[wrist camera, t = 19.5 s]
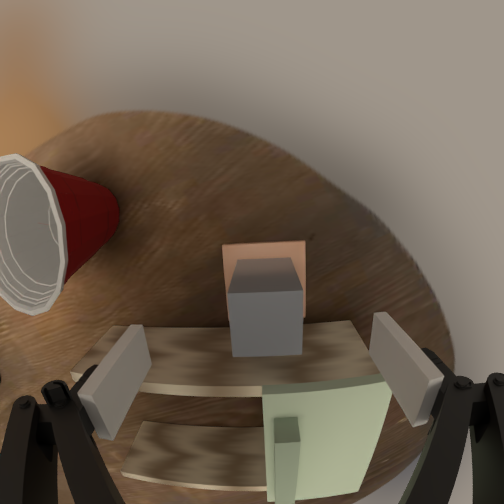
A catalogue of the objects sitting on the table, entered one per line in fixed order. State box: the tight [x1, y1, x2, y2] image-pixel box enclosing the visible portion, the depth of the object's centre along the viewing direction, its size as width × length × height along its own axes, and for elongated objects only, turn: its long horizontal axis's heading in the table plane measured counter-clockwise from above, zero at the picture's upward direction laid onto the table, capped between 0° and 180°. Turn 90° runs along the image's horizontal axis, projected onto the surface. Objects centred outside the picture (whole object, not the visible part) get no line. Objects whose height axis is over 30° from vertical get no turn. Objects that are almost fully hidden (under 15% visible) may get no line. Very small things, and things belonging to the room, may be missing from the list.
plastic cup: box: [0, 153, 119, 316], centre depth 19 cm, size 11×11×12 cm
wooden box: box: [70, 320, 380, 491], centre depth 25 cm, size 24×15×9 cm, turn 93°
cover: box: [262, 373, 392, 504], centre depth 18 cm, size 9×16×3 cm, turn 3°
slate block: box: [227, 257, 303, 357], centre depth 22 cm, size 4×4×8 cm
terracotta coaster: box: [222, 240, 306, 320], centre depth 26 cm, size 7×7×1 cm
